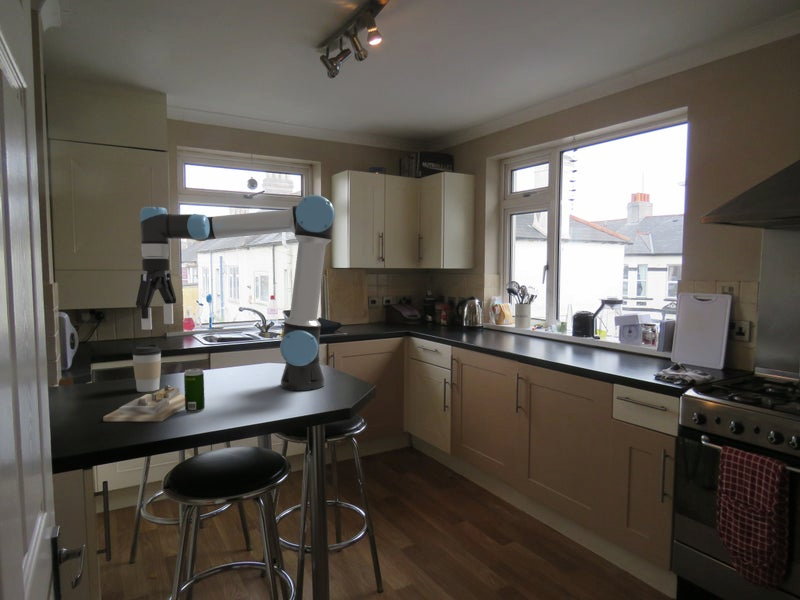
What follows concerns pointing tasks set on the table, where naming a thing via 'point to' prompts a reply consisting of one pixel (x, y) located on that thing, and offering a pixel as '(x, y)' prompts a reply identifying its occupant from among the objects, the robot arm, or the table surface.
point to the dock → (149, 408)
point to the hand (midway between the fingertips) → (158, 326)
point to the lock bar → (164, 391)
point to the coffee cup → (147, 367)
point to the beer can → (194, 390)
